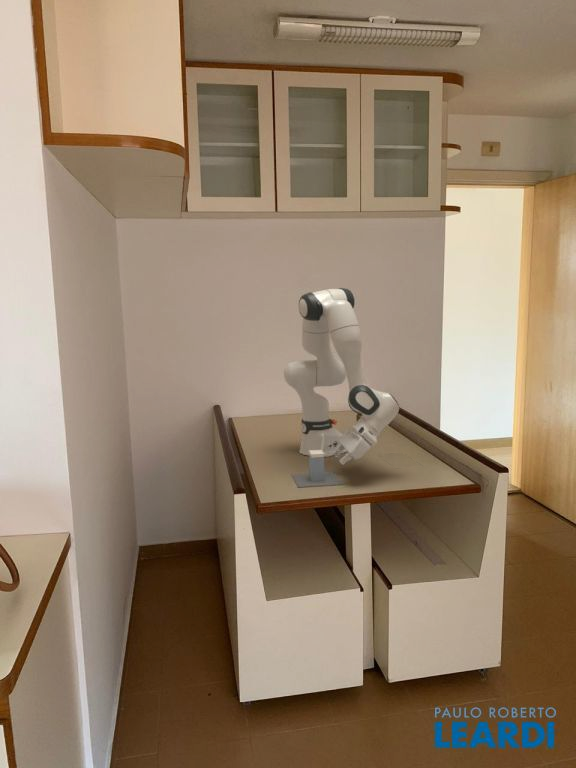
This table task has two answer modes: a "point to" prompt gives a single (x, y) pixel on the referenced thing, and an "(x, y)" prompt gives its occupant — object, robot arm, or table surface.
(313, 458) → the box
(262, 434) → the table surface
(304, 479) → the mat
